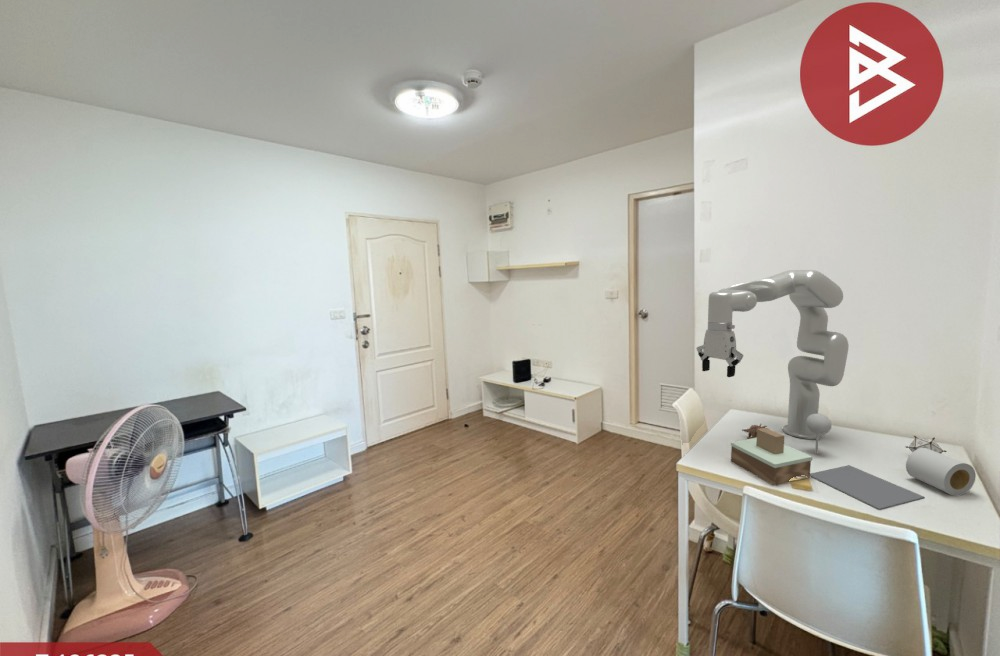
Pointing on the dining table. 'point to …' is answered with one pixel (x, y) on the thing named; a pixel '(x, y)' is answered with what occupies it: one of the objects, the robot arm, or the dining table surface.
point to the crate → (769, 468)
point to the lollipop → (818, 426)
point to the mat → (866, 487)
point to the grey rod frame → (925, 445)
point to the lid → (771, 449)
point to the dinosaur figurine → (753, 431)
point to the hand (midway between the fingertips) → (717, 373)
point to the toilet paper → (941, 471)
